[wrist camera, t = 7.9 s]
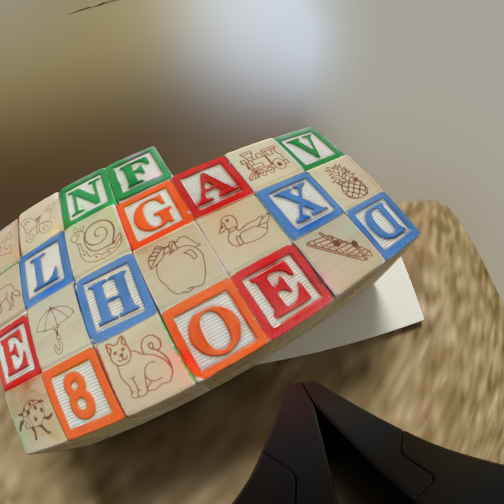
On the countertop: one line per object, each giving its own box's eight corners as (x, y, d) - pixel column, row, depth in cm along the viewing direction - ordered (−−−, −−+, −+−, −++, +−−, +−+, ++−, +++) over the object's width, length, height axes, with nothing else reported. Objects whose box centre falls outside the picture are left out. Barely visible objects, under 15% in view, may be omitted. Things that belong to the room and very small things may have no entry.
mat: (421, 321, 17) (424, 319, 16) (54, 378, 14) (50, 377, 13) (355, 169, 23) (356, 166, 23) (70, 207, 20) (68, 204, 20)
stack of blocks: (377, 284, 18) (275, 164, 23) (425, 234, 12) (284, 99, 17) (86, 446, 12) (34, 282, 17) (22, 456, 6) (-17, 239, 11)
